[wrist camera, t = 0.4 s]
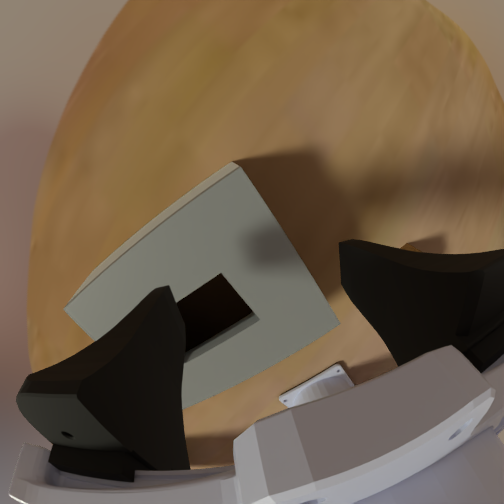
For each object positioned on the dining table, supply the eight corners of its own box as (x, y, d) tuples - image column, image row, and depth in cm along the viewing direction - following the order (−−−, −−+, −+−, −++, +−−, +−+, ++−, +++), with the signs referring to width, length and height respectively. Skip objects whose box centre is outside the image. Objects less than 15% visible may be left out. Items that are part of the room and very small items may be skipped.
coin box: (312, 283, 23) (340, 323, 17) (184, 360, 24) (182, 409, 19) (231, 161, 18) (241, 166, 13) (93, 270, 20) (63, 309, 14)
